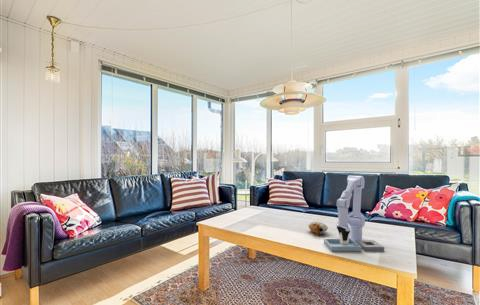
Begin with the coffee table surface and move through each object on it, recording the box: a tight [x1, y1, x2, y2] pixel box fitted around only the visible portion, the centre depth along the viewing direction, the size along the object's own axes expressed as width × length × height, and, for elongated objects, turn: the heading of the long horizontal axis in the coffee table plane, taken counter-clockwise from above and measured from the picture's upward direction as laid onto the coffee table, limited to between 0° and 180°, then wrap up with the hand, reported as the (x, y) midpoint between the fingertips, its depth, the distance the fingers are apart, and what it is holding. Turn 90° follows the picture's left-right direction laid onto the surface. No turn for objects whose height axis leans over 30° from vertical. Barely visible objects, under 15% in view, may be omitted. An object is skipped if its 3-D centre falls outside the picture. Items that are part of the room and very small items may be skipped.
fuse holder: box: [355, 239, 385, 252], centre depth 151 cm, size 12×12×2 cm
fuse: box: [339, 232, 350, 245], centre depth 151 cm, size 4×4×7 cm
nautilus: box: [308, 221, 329, 237], centre depth 179 cm, size 8×22×15 cm
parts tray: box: [323, 238, 363, 253], centre depth 151 cm, size 14×18×3 cm
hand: (343, 239), depth 151 cm, fingers open, 4 cm apart
